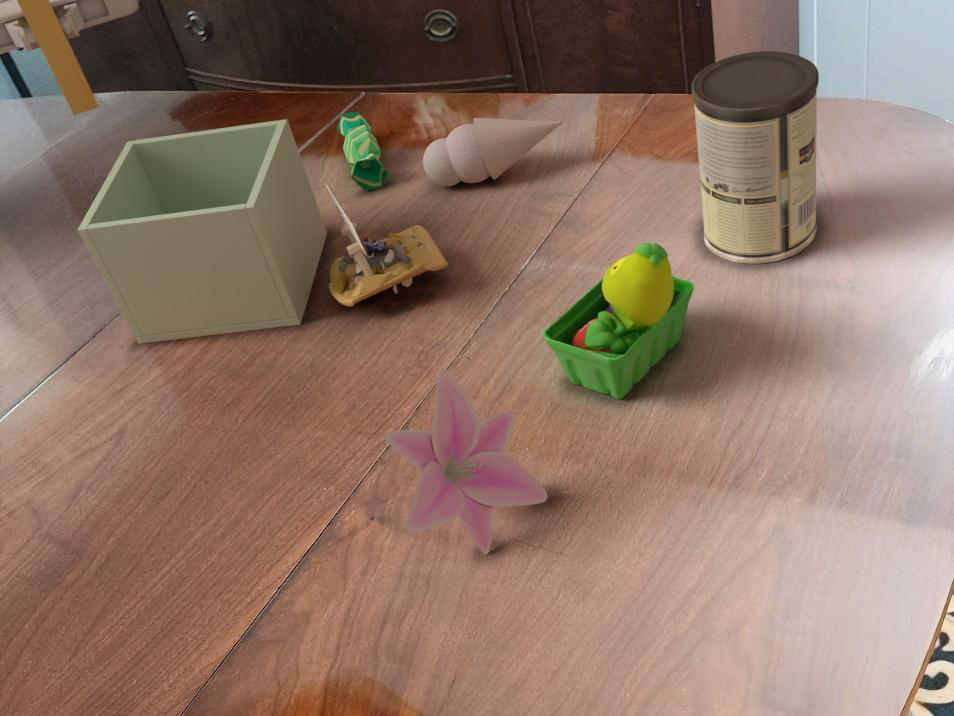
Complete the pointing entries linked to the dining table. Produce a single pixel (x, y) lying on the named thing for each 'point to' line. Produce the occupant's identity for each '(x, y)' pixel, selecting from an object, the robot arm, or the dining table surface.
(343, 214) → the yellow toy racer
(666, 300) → the fruit basket
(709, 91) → the coffee can
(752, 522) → the dining table surface
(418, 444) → the lily
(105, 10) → the robot arm
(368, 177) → the candy
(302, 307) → the waste bin
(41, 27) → the orange rectangular block
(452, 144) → the ice cream cone
